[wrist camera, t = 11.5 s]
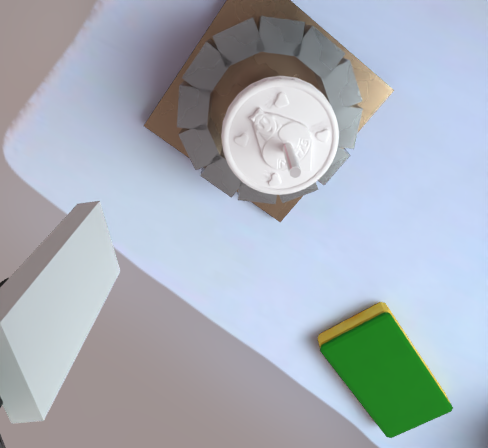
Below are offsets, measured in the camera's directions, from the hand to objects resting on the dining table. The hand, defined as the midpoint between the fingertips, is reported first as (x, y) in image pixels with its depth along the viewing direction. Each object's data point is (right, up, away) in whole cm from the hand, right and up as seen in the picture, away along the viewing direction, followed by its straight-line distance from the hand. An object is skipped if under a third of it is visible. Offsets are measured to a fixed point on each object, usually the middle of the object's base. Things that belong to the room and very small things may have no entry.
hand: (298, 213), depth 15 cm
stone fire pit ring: (0, +9, +19) cm, 21 cm away
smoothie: (0, +8, +18) cm, 20 cm away
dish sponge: (+12, -14, +30) cm, 35 cm away
